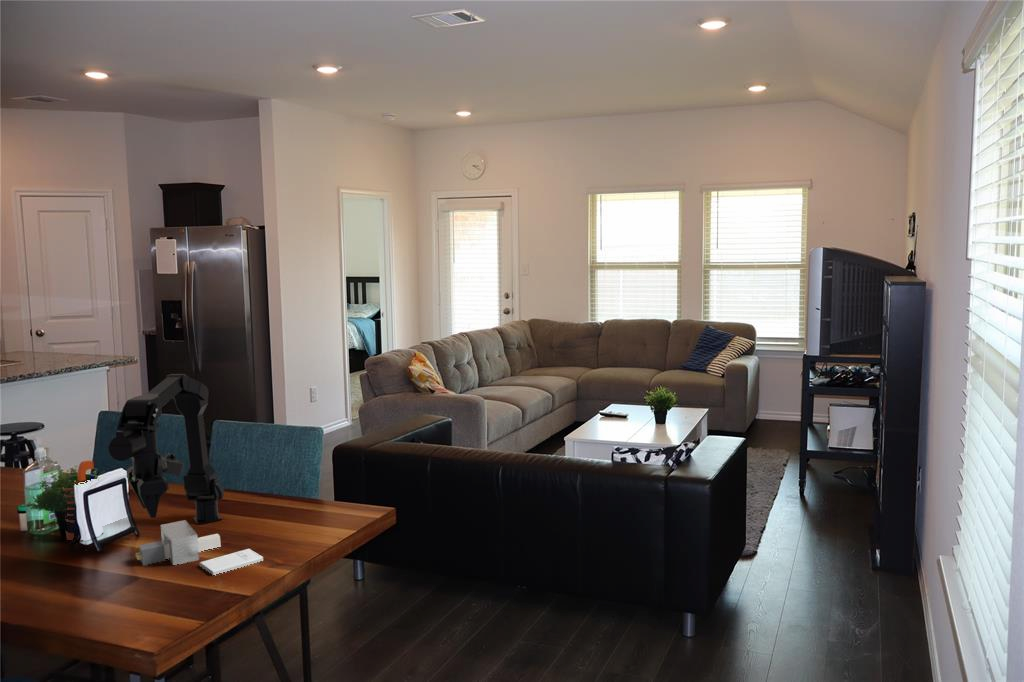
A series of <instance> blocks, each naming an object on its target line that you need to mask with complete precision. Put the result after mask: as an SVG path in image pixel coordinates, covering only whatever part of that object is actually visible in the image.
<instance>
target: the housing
mask: <svg viewBox="0 0 1024 682" xmlns="http://www.w3.org/2000/svg"><path fill="white" fill-rule="evenodd" d="M160 532H161V533H160V534H161V542H162V544H163V545H167V544H169V551H170V559H169V561H170V563H171V564H172V566H173V565H175V566H178V565H177V564H179V565H183V564H188V563H191V562H196V561H199V560H200V552H199V550H198V538H199V537H198V534H197V532H196V531H195V530H194V529H193V527H192V526H191V525H190V524H189V522H188V521H187V520H185V519H184V520H179V521H178V520H177V521H173V522H169V523H164V524H163V523H162V524H160ZM187 562H188V563H187Z"/></svg>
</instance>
